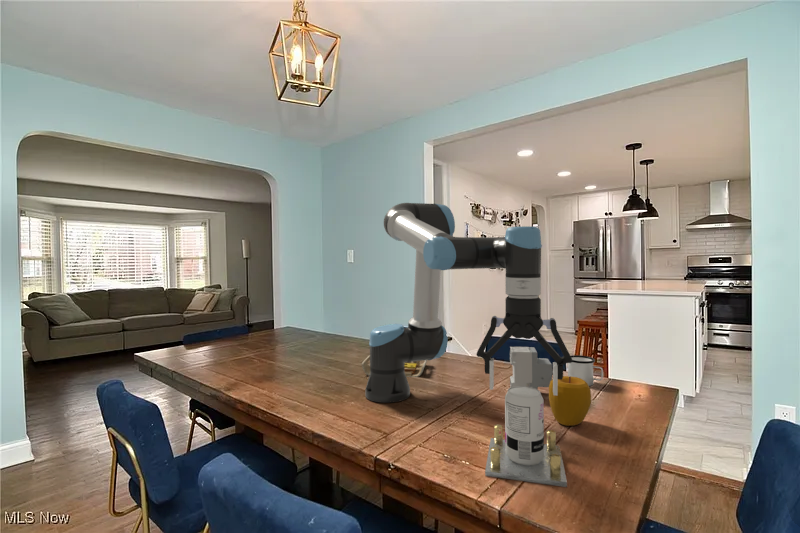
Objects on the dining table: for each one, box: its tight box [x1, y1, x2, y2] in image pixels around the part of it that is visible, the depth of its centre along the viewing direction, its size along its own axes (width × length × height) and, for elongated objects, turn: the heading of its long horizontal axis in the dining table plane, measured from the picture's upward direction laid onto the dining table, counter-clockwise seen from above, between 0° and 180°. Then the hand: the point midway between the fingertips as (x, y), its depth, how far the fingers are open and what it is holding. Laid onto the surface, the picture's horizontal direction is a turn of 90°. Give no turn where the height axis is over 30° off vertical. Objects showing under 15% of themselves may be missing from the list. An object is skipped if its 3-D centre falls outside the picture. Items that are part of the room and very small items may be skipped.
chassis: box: [484, 424, 568, 488], centre depth 89 cm, size 16×16×5 cm
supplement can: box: [504, 386, 545, 466], centre depth 89 cm, size 8×8×15 cm
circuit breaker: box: [509, 346, 553, 390], centre depth 133 cm, size 8×14×15 cm, turn 78°
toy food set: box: [361, 354, 428, 378], centre depth 165 cm, size 25×18×8 cm
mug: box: [567, 354, 604, 387], centre depth 143 cm, size 12×9×9 cm
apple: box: [548, 375, 592, 427], centre depth 109 cm, size 11×11×13 cm
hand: (522, 390), depth 89 cm, fingers open, 13 cm apart
